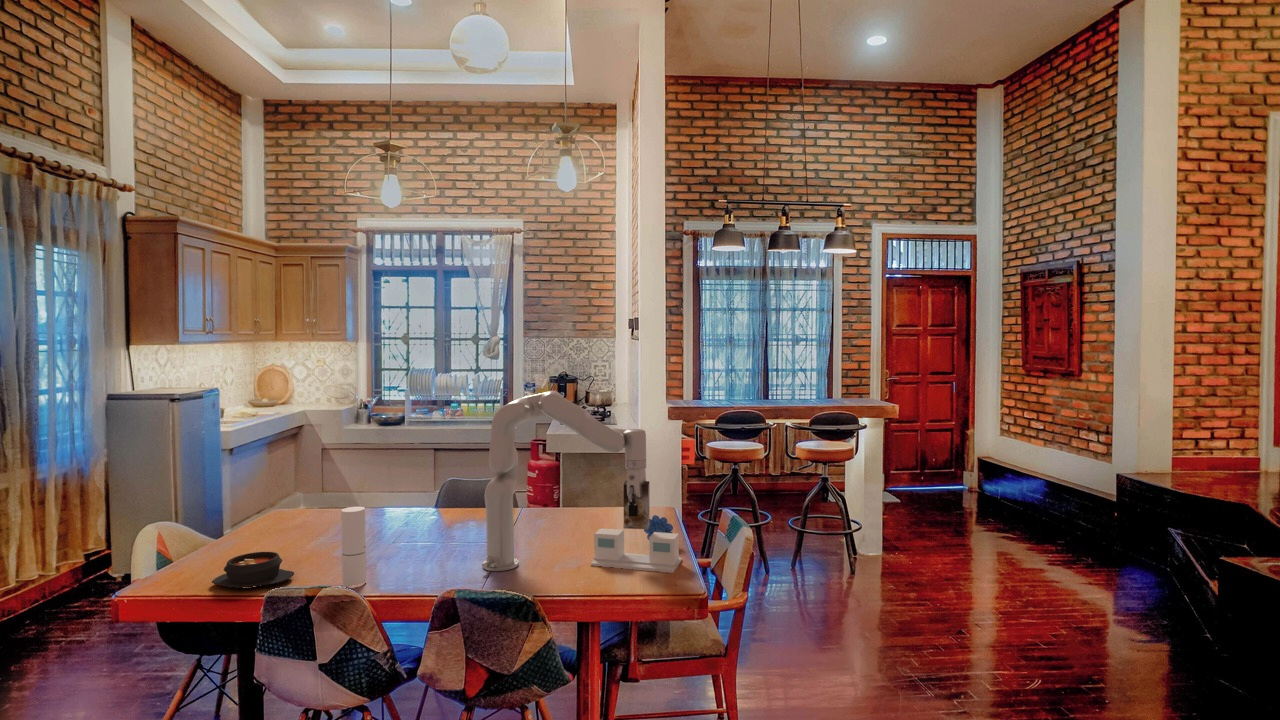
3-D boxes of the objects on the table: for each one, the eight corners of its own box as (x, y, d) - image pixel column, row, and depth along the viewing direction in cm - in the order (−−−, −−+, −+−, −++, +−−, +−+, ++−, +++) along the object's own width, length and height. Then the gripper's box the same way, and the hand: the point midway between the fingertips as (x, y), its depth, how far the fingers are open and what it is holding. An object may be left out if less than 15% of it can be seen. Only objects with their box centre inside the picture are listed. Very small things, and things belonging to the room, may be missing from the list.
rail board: (673, 573, 229) (672, 542, 228) (590, 565, 237) (590, 536, 237) (681, 560, 242) (681, 531, 242) (603, 553, 250) (603, 525, 250)
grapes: (644, 549, 255) (644, 518, 255) (643, 544, 262) (643, 513, 262) (674, 548, 256) (674, 517, 255) (673, 543, 262) (673, 513, 262)
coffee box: (622, 529, 237) (622, 484, 236) (625, 524, 243) (624, 480, 242) (648, 529, 236) (648, 484, 235) (650, 524, 242) (649, 480, 242)
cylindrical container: (369, 580, 224) (368, 506, 223) (361, 588, 217) (360, 511, 216) (347, 581, 224) (346, 506, 223) (339, 588, 216) (337, 512, 216)
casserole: (305, 573, 231) (305, 549, 231) (274, 593, 213) (273, 567, 213) (235, 573, 232) (234, 549, 232) (197, 593, 214) (197, 567, 214)
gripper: (639, 468, 229) (639, 520, 230) (652, 460, 246) (652, 508, 246) (618, 467, 231) (619, 519, 232) (632, 459, 248) (633, 507, 248)
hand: (636, 513), depth 239 cm, fingers closed on coffee box, 7 cm apart
